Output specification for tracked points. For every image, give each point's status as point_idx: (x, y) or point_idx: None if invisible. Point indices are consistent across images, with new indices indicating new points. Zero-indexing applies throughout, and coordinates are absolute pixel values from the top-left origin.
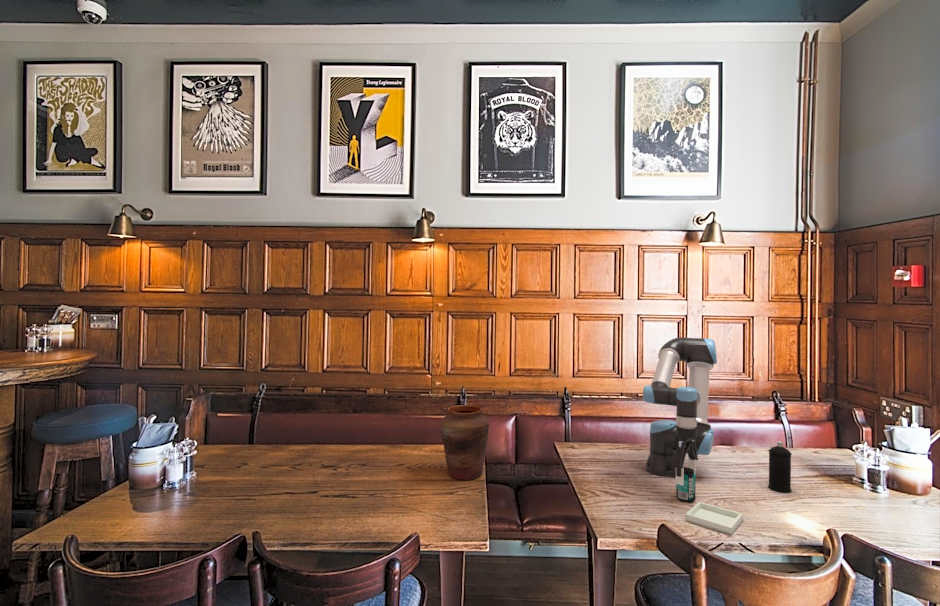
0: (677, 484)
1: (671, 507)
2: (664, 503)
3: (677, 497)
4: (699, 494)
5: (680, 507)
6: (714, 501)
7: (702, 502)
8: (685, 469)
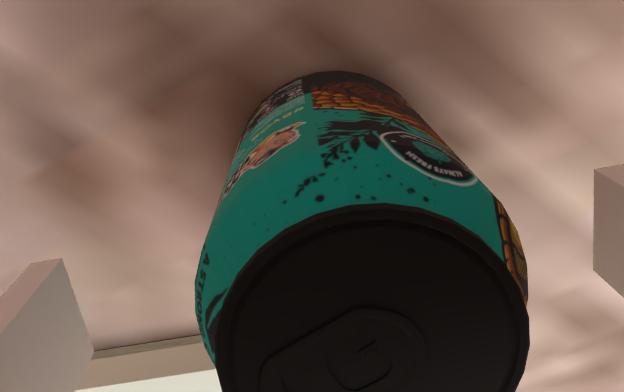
0: (235, 164)
1: (26, 175)
2: (44, 78)
3: (247, 123)
4: (580, 179)
5: (108, 226)
6: None
7: None
8: (380, 343)
